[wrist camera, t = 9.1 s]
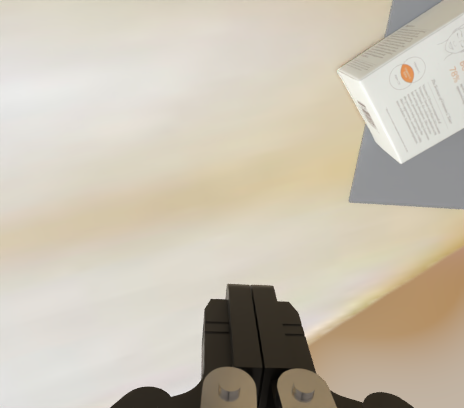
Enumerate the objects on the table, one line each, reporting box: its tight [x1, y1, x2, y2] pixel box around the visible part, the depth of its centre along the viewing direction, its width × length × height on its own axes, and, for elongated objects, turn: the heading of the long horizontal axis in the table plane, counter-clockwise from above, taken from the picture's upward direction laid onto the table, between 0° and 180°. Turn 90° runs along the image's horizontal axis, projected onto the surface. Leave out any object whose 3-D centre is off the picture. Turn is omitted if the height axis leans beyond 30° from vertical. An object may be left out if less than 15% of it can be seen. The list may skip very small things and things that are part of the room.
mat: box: [349, 0, 464, 209], centre depth 39 cm, size 19×12×1 cm, turn 175°
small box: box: [337, 0, 464, 164], centre depth 34 cm, size 8×6×13 cm
